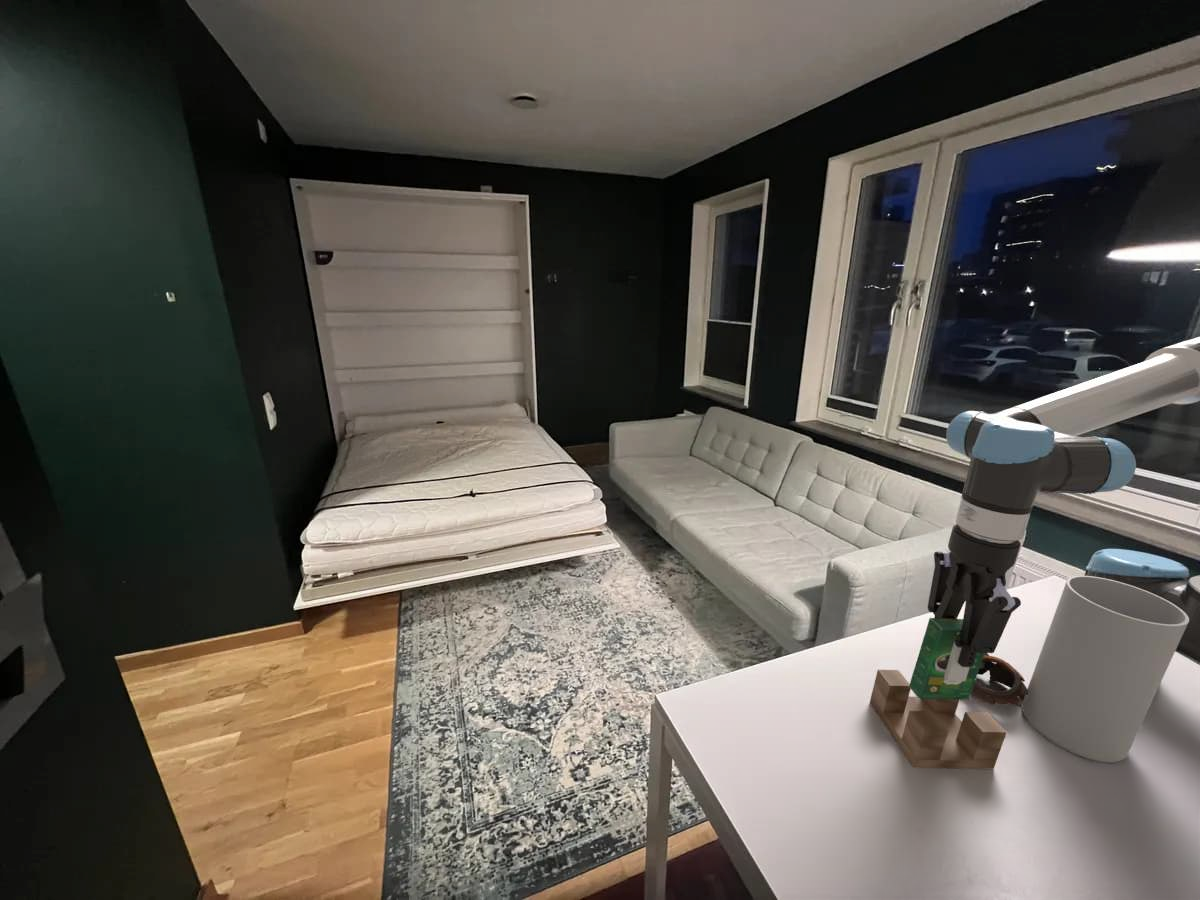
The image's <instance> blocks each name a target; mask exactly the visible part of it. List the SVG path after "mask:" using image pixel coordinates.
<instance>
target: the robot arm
mask: <svg viewBox="0 0 1200 900" xmlns="http://www.w3.org/2000/svg"><path fill="white" fill-rule="evenodd" d="M1198 402H1200V336H1197V337H1195V338H1194V337H1193V338H1191V339H1187V340H1183V341H1180V342H1178V343H1174V344H1172V345H1169V346H1168V345H1167V346H1165V347H1163V348H1160V349H1157V350H1155V351H1154V352H1152V353H1150V354H1149V355H1148V356H1147V357H1146V358H1145V359H1144V360H1143V361H1142V362H1140V363H1139V362H1138V363H1137V364H1133V365H1130V366H1128V367H1124V368H1122V369H1118V370H1116V371H1114V372H1111V373H1108V374H1105V375H1101V376H1098V377H1096V378H1093V379H1090V380H1088V381H1084V382H1082V383H1078V384H1075V385H1073V386H1070V387H1067V388H1065V389H1062V390H1058V391H1055V392H1053V393H1050V394H1047V395H1043V396H1041V397H1038V398H1035V399H1033V400H1030V401H1027V402H1025V403H1021V404H1019V405H1014V406H1013V407H1009V408H1007V409H1003V410H1000V411H997V412H994V413H988V412H986V411H983V410H982V411H977V410H976V411H975V410H967V411H963V412H961V413H959V414H958V415H957V416H955V417H954V418H953V419H952V420H951V421H950V423H949V424H948V426H947V429H946V435H945V436H946V442H947V445H948V446H949V448H950V449H951V450H952V451H954V452H956V453H958V454H961V455H962V456H965V457H967V459H970V461H969V466H968V469H967V473H966V476H965V482H964V485H963V486H964V487H963V488H962V489H963V490H962V492H961V493H962V494H961V497H960V500H959V504H958V509H957V511H956V516H955V519H954V521H955V525H953V526H952V529H951V532H950V536H949V540H948V543H947V548H948V550H949V551H935V552H934V553H933V561H934V570H933V573H932V580H931V586H930V592H929V597H928V602H927V611H928V612H929V613H933V615H934V617H933V618H947V619H958V617H959V615H960V613H961V611H962V609H963V607H964V611H963V618H962V619H963V624H962V631H961V637H960V641H954V644H953V647H952V651H951V654H950V658H949V661H948V665H947V668H946V671H945V675H944V678H945V679H946V680H947V681H966V677H967V674H968V671H969V668H970V667H972V666H974V663H975V659H976V656H977V653H988V654H993V653H995V652H996V649H997V647H998V644H999V642H1000V640H1001V638H1002V636H1003V633H1004V631H1005V628H1006V626H1007V624H1008V622H1009V620H1010V618H1011V616H1012V614H1013V612H1015V611H1016V610H1017V609H1018V608H1020V607H1021V605H1022V601H1021V599H1020V598H1019V597H1018V596H1011V594H1010V593H1009V591H1008V590H1007V589H1006V585H1007V580H1006V573H1007V572H1008V571H1009V570H1010V569H1011V568H1012V567H1013V566H1014V565H1015V564H1016V561H1017V558H1018V554H1019V552H1020V549H1021V546H1022V545H1021V542H1020V540H1022V539H1023V538H1024V536H1025V533H1026V531H1027V530H1026V529H1027V526H1028V523H1029V519H1030V516H1031V513H1032V511H1033V507H1034V504H1035V501H1036V498H1037V496H1038V494H1083V495H1087V494H1088V495H1092V494H1096V493H1107V492H1114V491H1117V490H1119V489H1121V488H1123V487H1124V486H1126V485H1128V484H1129V482H1131V481H1132V479H1133V478H1134V475H1135V473H1136V469H1137V463H1136V462H1137V461H1136V457H1135V455H1134V454H1133V452H1132V451H1131V449H1130V448H1129V447H1128V446H1127V445H1126V444H1125V443H1124V442H1123V443H1122V442H1121V441H1119V440H1117V439H1115V438H1108V437H1107V438H1106V437H1098V436H1094V435H1090V436H1086V437H1084V436H1080V435H1083V434H1086V433H1089V432H1091V431H1095V430H1097V429H1100V428H1104V427H1107V426H1109V425H1112V424H1116V423H1118V422H1120V421H1125V420H1127V419H1130V418H1132V417H1136V416H1138V415H1141V414H1144V413H1147V412H1151V411H1154V410H1157V409H1160V408H1162V407H1164V406H1169V405H1171V404H1175V405H1190V404H1194V403H1198ZM1085 569H1086V570H1085V572H1084V574H1083V576H1093V577H1100V578H1105V579H1110V580H1114V581H1118V582H1121V583H1125V584H1128V585H1131V586H1134V587H1137V588H1140V589H1143V590H1145V591H1148V592H1150V593H1153V594H1155V595H1157V596H1159V597H1161V598H1163V599H1165V600H1167V601H1169V602H1171V603H1173V604H1174V605H1176V606H1177V607H1179V608H1180V609H1181V610H1183V611H1184V612H1185V613H1186V614H1187V616H1188V617H1189V622H1188V625H1187V627H1186V629H1185V631H1184V633H1183V635H1182V638H1181V640H1180V642H1179V644H1178V646H1177V648H1176V650H1175V653H1177V654H1178V655H1181V656H1183V657H1185V658H1187V659H1188V660H1189V661H1191V662H1193V663H1195V664H1197V665H1198V666H1200V574H1199V575H1195V576H1192V577H1189V576H1190V573H1189V572H1190V570H1189V568H1188V567H1186V566H1185V565H1184V564H1183V563H1181V562H1178V561H1176V560H1173V559H1170V558H1167V557H1163V556H1160V555H1156V554H1152V553H1149V552H1144V551H1143V552H1142V551H1138V550H1137V551H1136V550H1129V549H1122V548H1105V549H1104V548H1103V549H1101V550H1097V551H1096V552H1094V554H1092V556H1091V558H1090V560H1089V562H1088V565H1086V566H1085ZM1187 578H1189V580H1188V579H1187ZM964 605H965V606H964Z"/></svg>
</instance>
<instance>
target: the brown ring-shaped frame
mask: <svg viewBox="0 0 1200 900" xmlns="http://www.w3.org/2000/svg"><path fill="white" fill-rule="evenodd" d="M988 671H989V672H988ZM987 672H988V673H989V681H990V682H995V683H998V684H1002V685H1004V686H1006V687H1008V688H1009V689H1007V690H993V689H990V688H987V687H985V686H984V685H982V684H980V683H979V682H978V681H977V680H975V682H974V685H973V689H972V692H971V695H970V696H972V697H974V698H976V699H978V700H979V701H982V702H985V703H988V704H990V705H996V704H997V705H999V706H1004V705H1014V706H1016V707H1020V706H1021V705H1020V702H1021V703H1023V700H1024V697H1025V694H1027V695H1028V687H1026V685H1025V683H1024V682H1025V681H1026V679H1025V678H1024V677H1023V675H1022V674H1021V673H1020V672H1019V671H1018V670H1017V669H1016V668H1014V667H1013V666H1012V665H1011V664H1010V663H1008V662H1007V661H1005V660H1004V659H1002V658H999V657H997V656H991V655H990V654H989V653H985V654H984V657H983V660H982V662H981V665H980V668H979V671H978V674H977V675H979V676H980V675H981V676H983V675H984V674H986V673H987Z"/></svg>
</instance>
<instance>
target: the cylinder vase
mask: <svg viewBox="0 0 1200 900" xmlns="http://www.w3.org/2000/svg"><path fill="white" fill-rule="evenodd" d="M1188 622H1189V617H1188V616H1187V614H1186V613H1185V612H1184V611H1183V610H1181V609H1180V608H1179V607H1177V606H1176V605H1174V604H1173V603H1171V602H1169V601H1167V600H1165V599H1163V598H1161V597H1159V596H1157V595H1155V594H1153V593H1150V592H1148V591H1145V590H1143V589H1140V588H1137V587H1134V586H1131V585H1128V584H1125V583H1121V582H1118V581H1114V580H1110V579H1105V578H1100V577H1093V576H1084V575H1073V576H1070V577H1068V578H1067V580H1066V581H1065V584H1064V587H1063V590H1062V593H1061V596H1060V598H1059V601H1058V603H1057V607H1056V609H1055V612H1054V615H1053V617H1052V621H1051V623H1050V625H1049V629H1048V631H1047V634H1046V637H1045V639H1044V642H1043V645H1042V648H1041V651H1040V654H1039V657H1038V659H1037V662H1036V665H1035V667H1034V670H1033V672H1032V675H1031V679H1030V681H1029V684H1028V687H1027V689H1028V695H1027V694H1025V697H1024V700H1023V702H1021V703H1022V704H1021V708H1022V712H1023V715H1024V716H1025V718H1026V719H1027V721H1028V722H1029V724H1030V725H1031V726H1032V727H1033V728H1034V729H1035V730H1036V731H1037V732H1039V733H1040V735H1042V736H1043V737H1044V738H1046V739H1047V740H1049V741H1050V742H1052V743H1054V744H1055V745H1057V746H1059V747H1061V748H1062V749H1064V750H1066V751H1067V752H1069V753H1072V754H1075V755H1077V756H1080V757H1082V758H1084V759H1088V760H1090V761H1096V762H1101V763H1110V764H1111V763H1117V762H1120V761H1123V760H1125V758H1127V756H1128V754H1129V752H1130V750H1131V748H1132V746H1133V744H1134V741H1135V740H1136V736H1137V734H1138V732H1139V730H1140V728H1141V727H1142V724H1143V721H1144V720H1145V718H1146V716H1147V712H1148V711H1149V708H1151V707H1150V706H1151V704H1152V702H1153V699H1154V698H1155V695H1156V693H1157V691H1158V689H1159V687H1160V685H1161V682H1162V680H1163V678H1164V676H1165V675H1166V672H1167V670H1168V668H1169V666H1170V663H1171V661H1172V658H1173V656H1174V655H1175V653H1176V652H1175V650H1176V648H1177V646H1178V644H1179V642H1180V640H1181V638H1182V635H1183V633H1184V631H1185V629H1186V627H1187V625H1188Z"/></svg>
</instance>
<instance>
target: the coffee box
mask: <svg viewBox="0 0 1200 900" xmlns="http://www.w3.org/2000/svg"><path fill="white" fill-rule="evenodd" d="M962 624H963V618H957V619H947V618H934V617H929V619H928V622H927V625H926V628H925V633H924V636H923V638H922V641H921V642H922V643H921V645H920V649H919V652H918V656H917V659H916V663H915V665H914V669H913V671H912V672H913V673H912V676H911V678H910V682H909V684H910V686H909V687H910V691H912V692H913V693H914V695H915V697H918V698H919V699H930V700H931V699H954V700H959V701H961V700H964V701H965V700H966V701H968V700H969V699H970V696H972V695H971V692H972V689H973V685H974V682H975V680H976V679H977V678H978V677H977V676H978V675H979V674H978V671H979V668H980V665H981V662H982V660H983V657H984V654H985V653H977V656H976V659H975V663H974V666H972V667H970V668H969V671H968V674H967V677H966V681H947V680H946V679H945V678H944V675H945V671H946V668H947V665H948V661H949V658H950V654H951V651H952V647H953V644H954V641H960V637H961V631H962ZM976 681H977V680H976Z"/></svg>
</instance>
